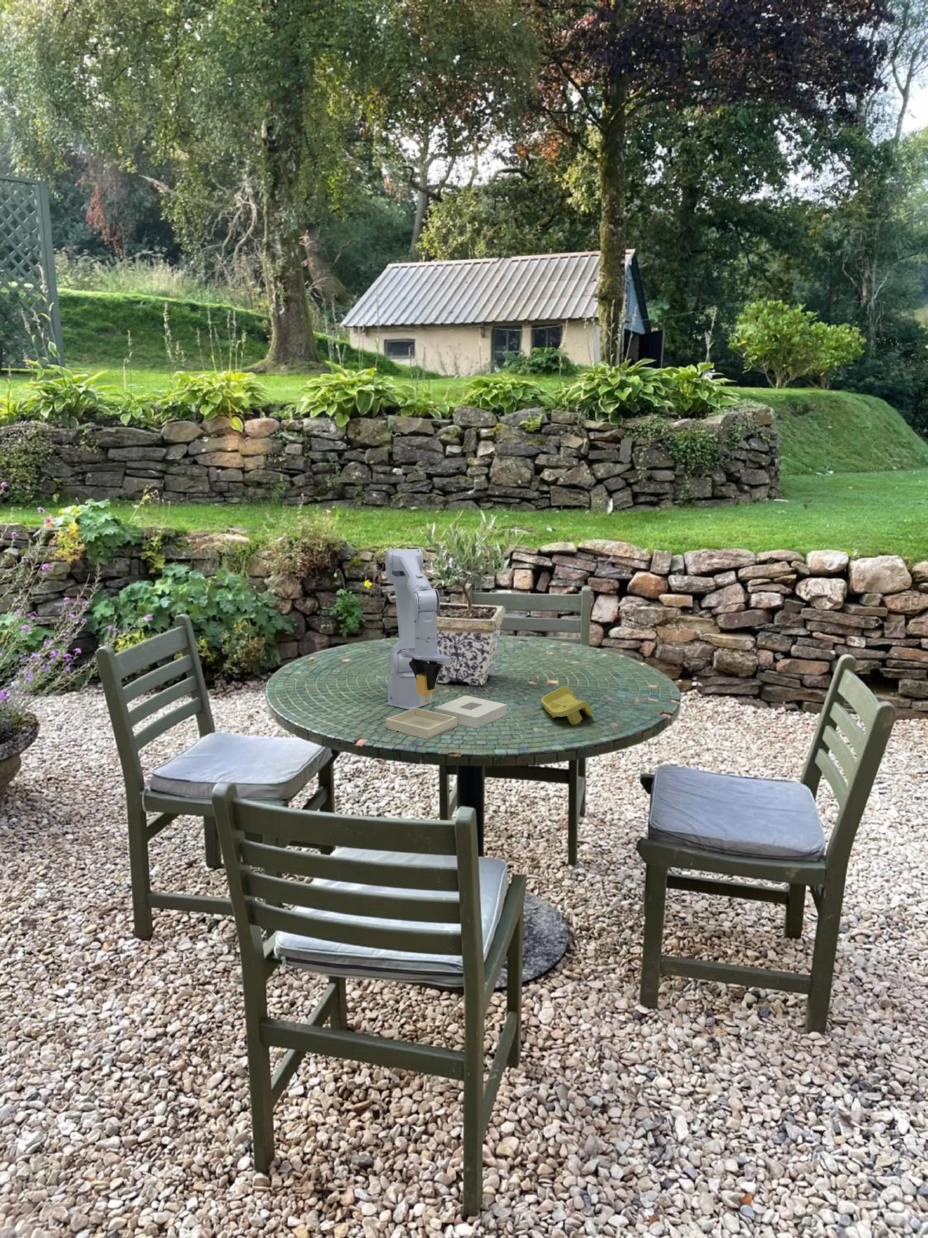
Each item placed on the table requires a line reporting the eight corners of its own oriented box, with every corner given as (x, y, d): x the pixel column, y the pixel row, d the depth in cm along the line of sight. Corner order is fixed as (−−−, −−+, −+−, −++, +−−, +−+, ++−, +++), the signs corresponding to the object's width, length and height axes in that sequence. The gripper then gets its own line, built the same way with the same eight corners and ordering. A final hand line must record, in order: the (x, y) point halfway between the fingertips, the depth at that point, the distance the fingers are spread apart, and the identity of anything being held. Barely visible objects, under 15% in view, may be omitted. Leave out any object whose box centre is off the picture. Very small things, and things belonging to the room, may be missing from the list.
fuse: (416, 704, 213) (416, 674, 211) (427, 700, 216) (427, 670, 215) (424, 706, 211) (424, 675, 210) (435, 702, 215) (434, 672, 213)
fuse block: (434, 718, 222) (434, 707, 221) (465, 705, 233) (465, 695, 232) (477, 728, 214) (477, 717, 213) (506, 715, 225) (507, 704, 224)
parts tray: (385, 728, 214) (385, 718, 213) (415, 716, 223) (415, 707, 223) (428, 739, 206) (427, 729, 205) (456, 726, 215) (456, 717, 215)
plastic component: (538, 699, 232) (570, 682, 232) (549, 721, 233) (581, 705, 234) (556, 716, 212) (590, 698, 213) (568, 740, 214) (601, 722, 214)
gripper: (393, 635, 211) (394, 687, 214) (438, 643, 203) (438, 696, 206) (411, 631, 217) (411, 681, 220) (455, 638, 209) (455, 690, 211)
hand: (426, 688), depth 213 cm, fingers closed on fuse, 3 cm apart
